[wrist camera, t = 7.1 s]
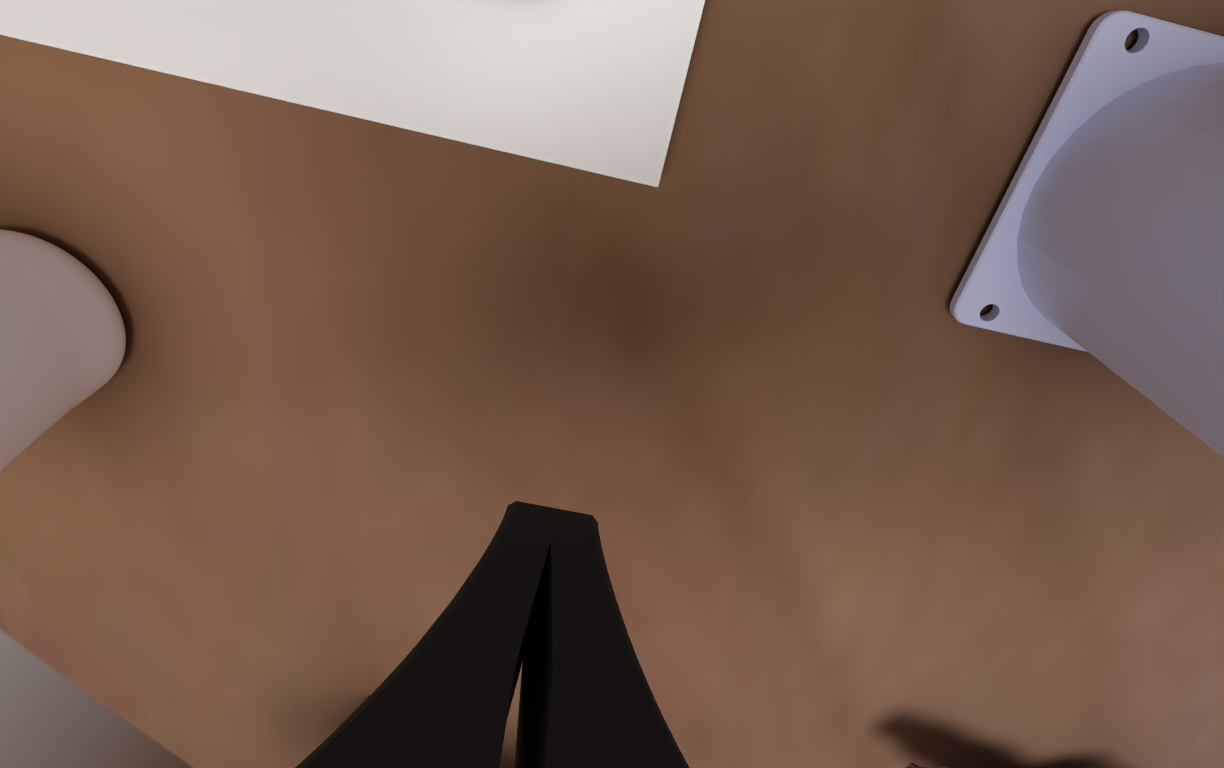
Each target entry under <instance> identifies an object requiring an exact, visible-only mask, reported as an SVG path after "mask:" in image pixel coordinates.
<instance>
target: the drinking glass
mask: <svg viewBox="0 0 1224 768" xmlns="http://www.w3.org/2000/svg"><path fill="white" fill-rule="evenodd" d="M125 348H126V333H125V327H124V323H123V319H122V316H121V314H120V311H119V309H118V307H117V304H116V303H115V301H114V299H113V297H112V296H111V294H110V293H109V291H108V290H107V288H106V287H105V286H104V285H103V283H102V282H101V281H100V280H99V279H98V278H97V277H96V275H95V274H94V273H93V272H92V271H90V270H89V269H88V268H87V267H86V266H85V265H84V264H83V263H81V262H80V261H79V260H77V259H76V258H75V257H73V256H72V255H70V254H69V253H67V252H66V251H64V250H63V249H61V248H59V247H57V246H55V245H53V244H51V243H49V242H47V241H45V240H42V239H40V238H37V237H34V236H31V235H28V234H24V233H20V232H16V231H9V230H1V229H0V473H1V472H2V471H3V470H4V469H5V468H6V467H7V466H8V465H10V464H11V463H12V462H13V461H14V460H15V459H16V458H17V457H18V456H20V455H21V454H22V453H23V452H24V451H25V450H26V449H27V448H29V447H30V446H31V445H32V444H33V443H34V442H35V441H36V440H37V439H39V438H40V437H41V436H42V435H43V434H44V433H45V432H47V431H48V430H49V429H50V428H51V427H52V426H53V425H54V424H56V423H57V422H58V421H59V420H60V419H61V418H62V417H64V416H65V415H66V414H67V413H68V412H69V411H71V410H72V409H73V408H75V407H76V406H77V405H79V404H80V403H82V402H83V401H84V400H86V399H87V398H88V397H90V396H91V395H92V394H94V393H95V392H97V391H98V390H99V389H101V388H102V387H103V386H104V385H105V384H106V383H107V382H109V381H110V380H111V379H112V377H113V376H114V375H115V374H116V372H117V371H118V369H119V367H120V365H121V363H122V360H123V358H124V354H125Z"/></svg>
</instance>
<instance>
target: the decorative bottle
mask: <svg viewBox="0 0 1224 768" xmlns="http://www.w3.org/2000/svg"><path fill="white" fill-rule="evenodd" d="M906 768H925V767H921V766H917V765H915V764H914V763H911V764H910V765H908V766H907V767H906ZM939 768H949V767H939Z"/></svg>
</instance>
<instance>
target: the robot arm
mask: <svg viewBox="0 0 1224 768" xmlns="http://www.w3.org/2000/svg"><path fill="white" fill-rule="evenodd" d="M1135 29H1136V30H1137V31H1138V35H1139V36H1138V40H1137V43H1136V44H1135V45H1134V46H1133V47H1132V48H1131V49H1130V50H1128V51H1126V49H1125V45H1124V44H1125V41H1126V37H1127V36H1128V35H1129V34H1130V32H1131V31H1133V30H1135ZM989 304H993V308H992V310H991V311H990V312H989V313H988V314H986V315H984V316H980V312H981V310H982V309H983V308H984V307H985V306H987V305H989ZM950 313H951V314H952V315H953V317H954V318H955V319H956V320H957V321H958V322H960V323H962V324H965V325H970V326H974V327H979V328H983V329H988V330H992V331H996V332H1001V333H1005V334H1010V335H1014V336H1019V337H1023V338H1028V339H1032V340H1037V341H1041V342H1046V343H1050V344H1054V345H1059V346H1063V347H1068V348H1072V349H1077V350H1081V351H1086V352H1089V353H1090V354H1091V355H1093V356H1094V357H1095V358H1096V359H1098V360H1099V361H1100V362H1102V363H1103V364H1104V365H1105V366H1107V367H1108V368H1109V369H1110V370H1112V371H1113V372H1114V373H1116V374H1117V375H1118V376H1119V377H1121V378H1122V379H1123V380H1125V381H1126V382H1127V383H1128V384H1130V385H1131V386H1132V387H1133V388H1135V389H1136V390H1137V391H1139V392H1140V393H1141V394H1142V395H1144V396H1145V397H1146V398H1148V399H1149V400H1150V401H1151V402H1153V403H1154V404H1155V405H1156V406H1158V407H1159V408H1160V409H1162V410H1163V411H1164V412H1165V413H1167V414H1168V415H1169V416H1171V417H1172V418H1173V419H1174V420H1176V421H1177V422H1178V423H1179V424H1181V425H1182V426H1183V427H1185V428H1186V429H1187V430H1188V431H1190V432H1191V433H1192V434H1194V435H1195V436H1196V437H1197V438H1199V439H1200V440H1201V441H1202V442H1204V443H1205V444H1206V445H1208V446H1209V447H1210V448H1211V449H1213V450H1214V451H1215V452H1217V453H1218V454H1219V455H1220V456H1222V457H1223V458H1224V37H1223V36H1219V35H1216V34H1212V33H1208V32H1204V31H1201V30H1197V29H1193V28H1190V27H1186V26H1182V25H1179V24H1175V23H1171V22H1167V21H1164V20H1160V19H1156V18H1153V17H1149V16H1145V15H1141V14H1138V13H1134V12H1130V11H1109V12H1107V13H1104V14H1102V15H1101V16H1100V17H1098V18H1097V19H1096V20H1095V21H1094V22H1093V23H1092V25H1091V26H1090V28H1089V29H1088V31H1087V33H1086V35H1085V37H1084V39H1083V41H1082V43H1081V45H1080V47H1079V49H1078V51H1077V53H1076V55H1075V57H1074V59H1073V61H1072V63H1071V65H1070V67H1069V69H1068V71H1067V73H1066V75H1065V77H1064V79H1063V81H1062V83H1061V85H1060V87H1059V88H1058V90H1057V92H1056V94H1055V96H1054V98H1053V100H1052V102H1051V104H1050V106H1049V108H1048V110H1047V112H1046V114H1045V116H1044V118H1043V120H1042V122H1041V124H1040V126H1039V128H1038V130H1037V132H1036V134H1035V136H1034V138H1033V140H1032V142H1031V144H1030V146H1029V148H1028V150H1027V152H1026V154H1025V156H1024V158H1023V160H1022V162H1021V164H1020V166H1019V168H1018V170H1017V172H1016V174H1015V176H1014V178H1013V179H1012V181H1011V183H1010V185H1009V187H1008V189H1007V191H1006V193H1005V195H1004V197H1003V199H1002V201H1001V203H1000V205H999V207H998V209H997V211H996V213H995V215H994V217H993V219H992V221H991V223H990V225H989V227H988V229H987V231H986V233H985V235H984V237H983V239H982V241H981V243H980V245H979V247H978V249H977V251H976V253H975V255H974V257H973V259H972V261H971V263H970V265H969V267H968V268H967V270H966V272H965V274H964V276H963V278H962V280H961V282H960V284H959V286H958V288H957V290H956V292H955V294H954V296H953V298H952V300H951V303H950ZM522 661H523V664H522ZM521 665H522V676H521V689H520V702H519V715H518V728H517V742H516V755H515V768H689V766H688V764H687V762H686V761H685V759H684V757H683V755H682V753H681V751H680V750H679V748H678V746H677V744H676V742H675V740H674V738H673V736H672V734H671V732H670V730H669V728H668V726H667V724H666V722H665V720H664V718H663V716H662V714H661V711H660V709H659V707H658V705H657V703H656V701H655V699H654V696H653V694H652V692H651V690H650V687H649V685H648V683H647V680H646V678H645V676H644V673H643V671H642V668H641V666H640V664H639V661H638V659H637V656H636V654H635V651H634V649H633V646H632V643H631V641H630V638H629V636H628V633H627V630H626V627H625V624H624V621H623V618H622V615H621V613H620V610H619V607H618V604H617V601H616V598H615V595H614V591H613V588H612V585H611V581H610V578H609V574H608V571H607V567H606V563H605V559H604V555H603V551H602V546H601V541H600V536H599V530H598V522H597V521H596V520H595V518H594V517H593V516H592V515H588V514H582V513H577V512H572V511H566V510H561V509H556V508H550V507H545V506H540V505H534V504H529V503H524V502H518V501H516V502H514V503H512V504H510V505H508V507H507V510H506V513H505V516H504V518H503V520H502V522H501V524H500V526H499V528H498V530H497V532H496V534H495V536H494V538H493V539H492V541H491V543H490V545H489V546H488V548H487V549H486V551H485V553H484V554H483V556H482V558H481V559H480V561H479V562H478V564H477V565H476V567H475V568H474V570H473V571H472V573H471V574H470V575H469V577H468V578H467V580H466V581H465V583H464V584H463V586H462V587H461V588H460V590H459V591H458V593H457V594H456V596H455V597H454V598H453V600H452V601H451V602H450V604H449V605H448V606H447V607H446V609H445V610H444V611H443V612H442V614H441V615H440V616H439V618H438V619H437V620H436V621H435V623H434V624H433V625H432V626H431V628H430V629H429V630H428V631H427V633H426V634H425V635H424V636H423V638H422V639H421V640H420V641H419V643H418V644H417V645H416V646H415V647H414V648H413V650H412V651H411V652H410V653H409V654H408V655H407V656H406V658H405V659H404V660H403V661H402V662H401V663H400V664H399V666H398V667H397V668H396V669H395V670H394V671H393V672H392V673H391V674H390V675H389V676H388V678H387V679H386V680H385V681H384V682H383V683H382V684H381V685H380V686H379V687H378V688H377V689H376V690H375V691H374V693H373V694H372V695H371V696H370V697H369V698H368V699H367V700H366V701H365V702H364V703H363V704H362V705H361V706H360V707H359V708H358V709H357V710H356V711H355V712H354V713H353V714H352V715H351V716H350V717H349V718H348V719H347V720H346V721H345V722H344V723H343V724H342V725H341V726H340V727H339V728H338V729H337V730H336V731H335V732H334V733H332V734H331V735H330V736H329V737H328V738H327V739H326V740H325V741H324V742H323V743H322V744H321V745H320V746H319V747H318V748H317V749H316V750H314V751H313V752H312V753H311V754H310V755H309V756H308V757H307V758H306V759H305V760H304V761H302V762H301V763H300V764H299V765H298V766H297V767H295V768H499V765H500V759H501V753H502V746H503V740H504V734H505V727H506V721H507V717H508V714H509V710H510V706H511V702H512V699H513V695H514V691H515V687H516V684H517V680H518V676H519V672H520V669H521Z"/></svg>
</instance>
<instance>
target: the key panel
mask: <svg viewBox="0 0 1224 768" xmlns="http://www.w3.org/2000/svg"><path fill="white" fill-rule="evenodd" d="M704 3H705V0H0V35H4V36H9V37H13V38H17V39H22V40H26V41H30V42H35V43H39V44H43V45H47V46H52V47H56V48H60V49H65V50H69V51H73V52H78V53H82V54H86V55H90V56H95V57H99V58H103V59H108V60H112V61H116V62H121V63H125V64H129V65H134V66H138V67H142V68H146V69H151V70H155V71H159V72H164V73H168V74H172V75H177V76H181V77H185V78H189V79H194V80H198V81H202V82H207V83H211V84H215V85H220V86H224V87H228V88H232V89H237V90H241V91H245V92H250V93H254V94H258V95H263V96H267V97H271V98H275V99H280V100H284V101H288V102H293V103H297V104H301V105H306V106H310V107H314V108H318V109H323V110H327V111H331V112H336V113H340V114H344V115H349V116H353V117H357V118H361V119H366V120H370V121H374V122H379V123H383V124H387V125H392V126H396V127H400V128H404V129H409V130H413V131H417V132H422V133H426V134H430V135H435V136H439V137H443V138H448V139H452V140H456V141H460V142H465V143H469V144H473V145H478V146H482V147H486V148H491V149H495V150H499V151H503V152H508V153H512V154H516V155H521V156H525V157H529V158H534V159H538V160H542V161H546V162H551V163H555V164H559V165H564V166H568V167H572V168H577V169H581V170H585V171H589V172H594V173H598V174H602V175H607V176H611V177H615V178H620V179H624V180H628V181H632V182H637V183H641V184H645V185H650V186H654V187H658V186H659V182H660V178H661V174H662V170H663V166H664V162H665V158H666V154H667V150H668V146H669V142H670V138H671V134H672V130H673V126H674V122H675V118H676V114H677V110H678V106H679V102H680V98H681V94H682V90H683V86H684V82H685V78H686V75H687V71H688V67H689V63H690V59H691V55H692V51H693V47H694V43H695V39H696V35H697V31H698V27H699V23H700V19H701V15H702V11H703V7H704Z"/></svg>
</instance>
